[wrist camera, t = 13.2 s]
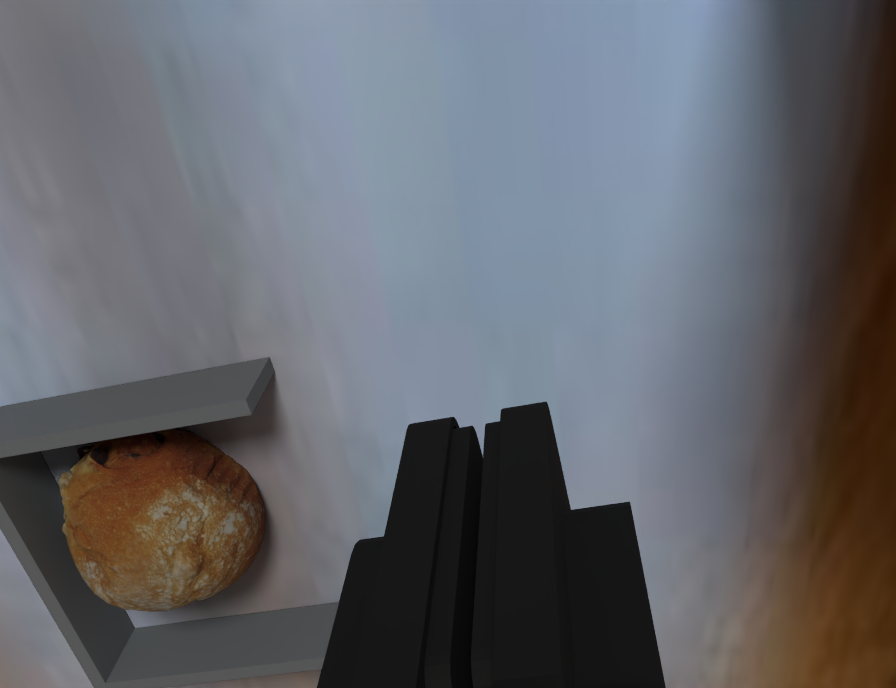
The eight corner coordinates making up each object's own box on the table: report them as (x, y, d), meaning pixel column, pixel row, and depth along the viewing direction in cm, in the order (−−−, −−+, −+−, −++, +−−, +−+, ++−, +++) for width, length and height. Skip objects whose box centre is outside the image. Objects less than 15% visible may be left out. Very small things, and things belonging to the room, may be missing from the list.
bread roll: (171, 530, 51) (164, 659, 46) (20, 465, 44) (-8, 609, 39) (295, 460, 48) (304, 589, 43) (154, 378, 41) (144, 520, 36)
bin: (269, 357, 41) (245, 399, 37) (363, 610, 48) (350, 665, 44) (0, 406, 43) (-46, 450, 40) (127, 639, 50) (98, 694, 47)
